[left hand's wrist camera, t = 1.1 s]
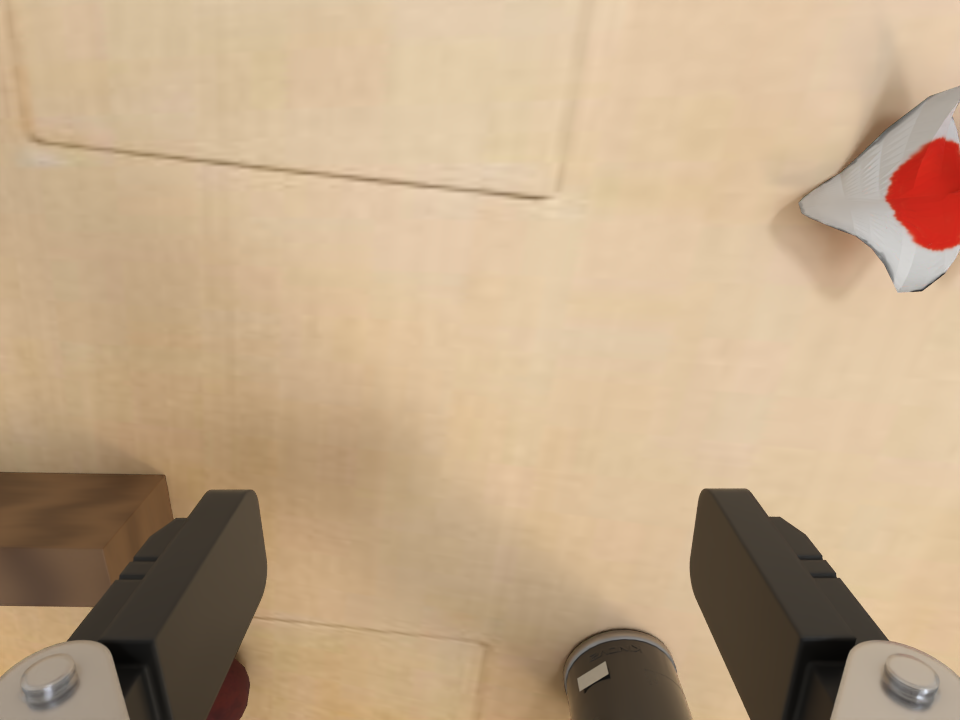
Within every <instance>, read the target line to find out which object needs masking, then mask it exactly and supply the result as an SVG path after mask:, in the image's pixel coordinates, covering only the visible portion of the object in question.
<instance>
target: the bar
mask: <svg viewBox="0 0 960 720" xmlns="http://www.w3.org/2000/svg"><path fill="white" fill-rule="evenodd" d="M171 521H173V516H172V510H171V505H170V499H169V494H168V489H167V483H166V478H165V475H126V474H66V473H5V472H0V606H59V607H94V606H95V605H96V604H97V603H98V601H99V600H100V599H101V598H102V596H103V595H104V594H105V592H106V591H107V590H108V589H109V587H110V586H111V585H112V584H113V582H114V581H115V580H119V575H120V574H121V572H122V571H123V570H124V569H125V567H126V566H127V565H128V563H129V562H133V557H134V556H135V555H136V553H137V552H138V551H139V550H140V548H141V547H142V546H143V545H144V543H145V542H146V541H147V539H148V538H149V537H150V536H151V535H153V534H154V533H155V532H157V531H158V530H160V529H161V528H163V527H164V526H166V525H167V524H168V523H170V522H171Z"/></svg>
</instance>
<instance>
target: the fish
mask: <svg viewBox="0 0 960 720" xmlns="http://www.w3.org/2000/svg"><path fill="white" fill-rule="evenodd" d="M959 102H960V86H958V87H955V88H952V89H949V90H946V91H943V92H941V93H938V94H935V95H932V96H929V97H928V98H927V99H925V100H924V101H923V102H921V103H920V104H919V105H917V106H916V107H915V108H913V109H912V110H911V111H910V112H908V113H907V114H906V115H904V116H903V117H902V118H900V119H899V120H898V121H896V122H895V123H894V124H892V125H891V126H890V127H889V128H887V129H886V130H885V131H884V132H883V133H882V134H881V135H880V136H879V137H878V138H877V139H876V140H875V141H874V142H873V143H871V144H870V145H869V146H868V147H867V148H866V149H865V150H864V151H863V152H862V153H861V154H860V155H859V156H858V157H857V158H856V159H855V160H854V161H853V162H851V163H850V164H849V165H848V166H847V167H846V168H845V169H844V170H843V171H842V172H841V173H840V174H838V175H836V176H834V177H833V178H831V179H829V180H828V181H826V182H824V183H823V184H821V185H820V186H819V187H817V188H816V189H814V190H813V191H811V192H810V193H809V194H807V195H806V196H805V197H803V198H802V199H801V200H800V202H799V206H800V210H801V213H802V214H804V215H805V216H807V217H809V218H811V219H813V220H816V221H818V222H821V223H823V224H826V225H828V226H831V227H833V228H835V229H838V230H841V231H843V232H846V233H849V234H852V235H854V236H856V237H858V238H859V239H860V240H861V241H863V242H864V243H865V244H867V245H868V246H869V247H871V248H872V250H873V251H874V252H875V253H876V255H877V256H878V257H879V258H880V260H881V261H882V262H883V263H884V265H885V267H886V269H887V271H888V273H889V275H890V277H891V279H892V281H893V284H894V286H895V288H896V290H897V292H918V291H923V290H924V289H926V288H927V287H928V286H929V285H931V284H932V283H933V282H935V281H936V280H937V279H939V278H940V277H941V276H942V275H944V274H945V272H946V271H947V270H948V268H949V267H950V265H951V264H952V263H953V261H954V260H955V258H956V256H957V254H958V252H959V250H960V142H959V137H958V132H957V129H956V126H955V123H954V120H953V117H952V116H953V113H954V111H955V109H956V107H957V105H958V103H959Z"/></svg>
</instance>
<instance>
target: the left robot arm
mask: <svg viewBox="0 0 960 720" xmlns="http://www.w3.org/2000/svg"><path fill="white" fill-rule="evenodd" d="M266 578H267V559H266V552H265V545H264V538H263V531H262V524H261V517H260V510H259V503H258V498H257V495H256V493H255V492H254V491H253V490H209V491H208V492H206V494H205V495H204V496H203V497H202V499H201V500H200V501H199V503H198V504H197V506H196V507H195V508H194V510H193V511H192V512H191V514H190V515H189V516H188V518H176V519H174V520H173V521H171V522H170V523H168V524H167V525H166V526H164V527H163V528H161V529H160V530H158V531H157V532H155V533H154V534H153V535H151V536H150V537H149V538H148V539H147V541H146V542H145V543H144V545H143V546H142V547H141V548H140V550H139V551H138V552H137V553H136V555H135V556H134V557H133V562H129V563H128V565H127V566H126V567H125V569H124V570H123V571H122V572H121V574H120V575H119V580H115V581H114V582H113V584H112V585H111V586H110V587H109V589H108V590H107V591H106V592H105V594H104V595H103V596H102V598H101V599H100V600H99V601H98V603H97V604H96V605H95V606H94V608H93V609H92V610H91V611H90V613H89V614H88V615H87V616H86V618H85V619H84V620H83V622H82V623H81V624H80V625H79V627H78V628H77V629H76V630H75V632H74V633H73V634H72V635H71V637H70V638H69V639H68V640H67V642H63V643H59V644H56V645H53V646H50V647H47V648H44V649H42V650H40V651H38V652H35V653H34V654H32V655H30V656H28V657H26V658H25V659H23V660H21V661H20V662H18V663H17V664H15V665H14V666H13V667H12V668H10V669H9V670H8V671H7V672H5V673H4V674H3V675H2V676H1V677H0V720H206V719H207V717H208V715H209V712H210V710H211V708H212V706H213V704H214V701H215V699H216V697H217V695H218V693H219V690H220V688H221V686H222V684H223V682H224V680H225V677H226V675H227V673H228V671H229V669H230V666H231V664H232V662H233V660H234V658H235V655H236V653H237V651H238V649H239V647H240V644H241V642H242V640H243V638H244V636H245V634H246V631H247V629H248V627H249V625H250V623H251V620H252V618H253V616H254V614H255V612H256V609H257V607H258V605H259V603H260V601H261V598H262V596H263V593H264V589H265V584H266ZM690 578H691V584H692V589H693V592H694V595H695V598H696V600H697V602H698V604H699V607H700V609H701V611H702V613H703V615H704V618H705V620H706V622H707V624H708V627H709V629H710V631H711V633H712V635H713V638H714V640H715V642H716V644H717V646H718V649H719V651H720V653H721V655H722V658H723V660H724V662H725V664H726V666H727V669H728V671H729V673H730V675H731V678H732V680H733V682H734V684H735V686H736V689H737V691H738V693H739V695H740V697H741V700H742V702H743V704H744V706H745V709H746V711H747V713H748V715H749V717H750V720H960V677H959V676H958V675H957V674H956V673H955V672H953V671H952V670H951V669H950V668H948V667H947V666H946V665H945V664H943V663H942V662H940V661H939V660H937V659H935V658H934V657H932V656H930V655H928V654H926V653H925V652H922V651H920V650H918V649H916V648H913V647H910V646H907V645H904V644H901V643H897V642H892V641H889V640H888V639H887V638H886V636H885V635H884V634H883V632H882V631H881V630H880V629H879V627H878V626H877V625H876V624H875V622H874V621H873V620H872V618H871V617H870V616H869V615H868V613H867V612H866V611H865V610H864V608H863V607H862V606H861V604H860V603H859V602H858V601H857V599H856V598H855V597H854V596H853V594H852V593H851V592H850V590H849V589H848V588H847V587H846V585H845V584H844V583H843V581H842V580H841V579H840V578H837V577H836V573H835V571H834V570H833V569H832V567H831V566H830V565H829V564H828V562H827V561H826V560H823V559H822V555H821V553H820V552H819V551H818V550H817V548H816V547H815V546H814V545H813V543H812V542H811V541H810V539H809V538H808V537H807V536H806V535H805V534H804V533H802V532H801V531H800V530H798V529H797V528H795V527H794V526H792V525H791V524H790V523H788V522H787V521H785V520H784V519H782V518H781V517H769V516H768V515H767V514H766V512H765V511H764V510H763V508H762V507H761V505H760V504H759V503H758V501H757V500H756V499H755V497H754V496H753V494H752V493H751V492H750V491H749V490H748V489H703V490H702V491H701V493H700V496H699V500H698V507H697V514H696V521H695V528H694V535H693V542H692V549H691V556H690ZM563 678H564V685H565V690H566V694H567V696H568V703H569V709H570V716H571V720H693V719H692V716H691V713H690V710H689V707H688V704H687V702H686V698H685V695H684V693H683V690H682V687H681V684H680V681H679V678H678V676H677V670H676V666H675V664H674V661H673V658H672V655H671V653H670V652H669V650H668V649H667V647H666V646H665V645H664V644H663V643H662V642H661V641H659V640H658V639H656V638H655V637H653V636H651V635H648V634H646V633H643V632H639V631H633V630H614V631H608V632H604V633H601V634H598V635H595V636H593V637H591V638H589V639H587V640H585V641H584V642H582V643H581V644H580V645H579V646H577V647H576V648H575V649H574V650H573V651H572V653H571V654H570V656H569V657H568V659H567V661H566V663H565V666H564V672H563Z"/></svg>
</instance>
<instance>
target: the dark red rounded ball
mask: <svg viewBox="0 0 960 720" xmlns="http://www.w3.org/2000/svg"><path fill="white" fill-rule="evenodd" d="M249 688H250V682H249V677H248V674H247V672H246V670H245V667H243V666H242V665H241V664H240V663H239V662H238V661H237V660H236V659H235V658H234V660H233V662H232V664H231V666H230V669H229V671H228V673H227V675H226V677H225V680H224V682H223V684H222V686H221V688H220V690H219V693H218V695H217V697H216V699H215V701H214V704H213V706H212V708H211V710H210V712H209V715H208V717H207V719H206V720H239V719H240V718H241V717H242V715H243V713H244V711H245V709H246V706H247V702H248V695H249Z"/></svg>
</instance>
